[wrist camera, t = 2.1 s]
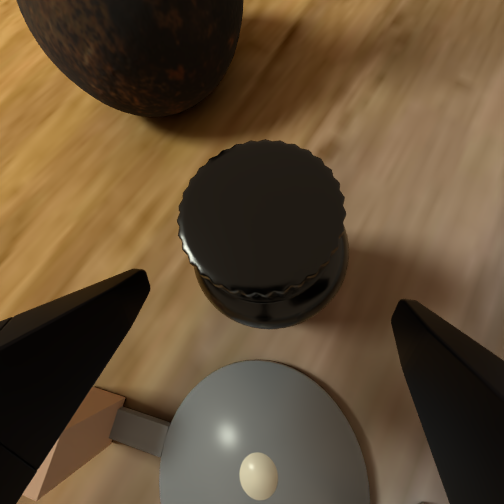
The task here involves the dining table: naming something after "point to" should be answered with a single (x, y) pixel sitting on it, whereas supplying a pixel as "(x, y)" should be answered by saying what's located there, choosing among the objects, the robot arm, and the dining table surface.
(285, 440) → the frying pan
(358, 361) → the dining table surface
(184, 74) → the glass bottle
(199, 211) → the supplement bottle
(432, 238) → the dining table surface
